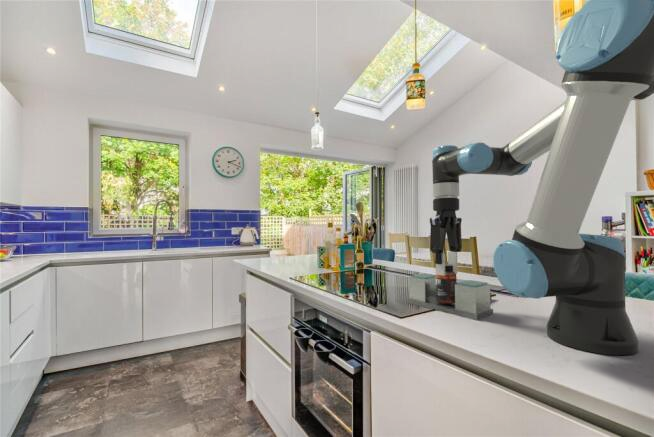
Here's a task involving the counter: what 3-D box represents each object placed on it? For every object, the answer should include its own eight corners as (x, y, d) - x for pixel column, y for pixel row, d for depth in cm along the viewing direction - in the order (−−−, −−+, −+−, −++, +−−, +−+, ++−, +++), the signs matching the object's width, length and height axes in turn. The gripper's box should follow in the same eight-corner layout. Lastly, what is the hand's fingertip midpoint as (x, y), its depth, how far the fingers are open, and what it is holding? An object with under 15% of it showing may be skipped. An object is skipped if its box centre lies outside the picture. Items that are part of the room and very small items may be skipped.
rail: (493, 314, 89) (492, 282, 89) (476, 320, 83) (476, 286, 83) (424, 298, 107) (423, 272, 107) (407, 303, 102) (406, 275, 102)
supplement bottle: (458, 301, 96) (458, 264, 97) (454, 305, 91) (454, 266, 92) (438, 298, 100) (438, 263, 100) (433, 302, 94) (433, 264, 95)
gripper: (451, 199, 104) (452, 269, 104) (416, 197, 93) (417, 275, 93) (473, 198, 98) (474, 272, 98) (438, 195, 87) (439, 279, 87)
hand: (446, 273), depth 95 cm, fingers closed on supplement bottle, 6 cm apart
